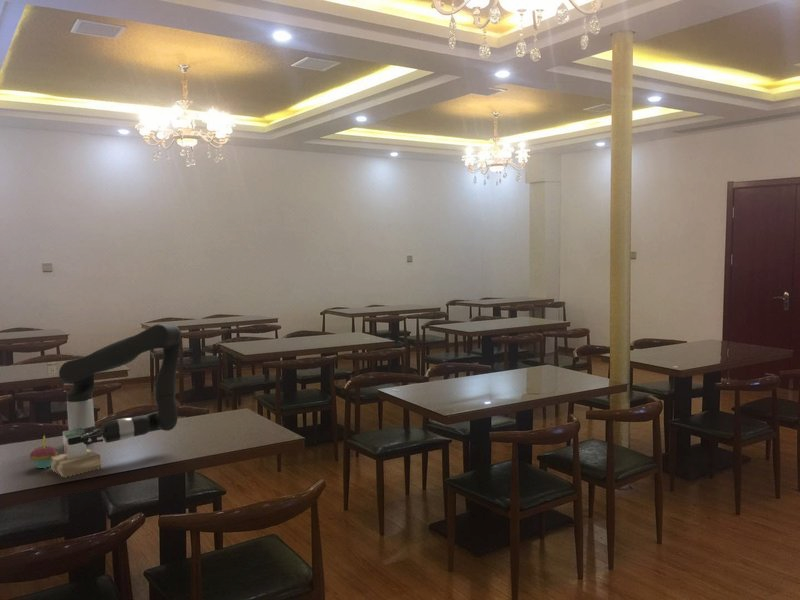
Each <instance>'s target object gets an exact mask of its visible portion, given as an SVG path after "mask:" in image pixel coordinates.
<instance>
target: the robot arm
mask: <svg viewBox="0 0 800 600" xmlns="http://www.w3.org/2000/svg"><path fill="white" fill-rule="evenodd" d="M181 344H182V332H181V329H180V328H179V326H177V325H175V324H174V323H173V324H172V323H157V324H155V325H152V326H150V327H148V328H146V329H144V330H143V331H141V332H140V333H137V334H136V335H132V336H129V337H126V338H123V339H121V340H118V341H116V342H113V343H110V344H108V345H106V346H103V347H101V348H100V349H97V350H96V351H93V352H92V353H90V354H88V355H86V356H83V357H80V358H75V359H71V360H68V361H65V362H64V363H63V364H62V365H61V366H60V368H59V371H58V376H59V378H60V379H61V381H62V382H64V383H66V384H69V385H70V384H71V385H72V387H71V388H70V389H69V391H68V392H67V393H66V398H65V399H66V407H67V408H66V410H67V412H66V413H67V424H68V425H67V426H68V430H73V429H78V428H82V429H83V430H84V431H85V435H82V436H81V437H80V436H79V437H74V438H69V439H68V444H69V445H73V444H78V443H82V444H86V445H91V444H95V443H103V442H105V443H107V444H109V443H114V442H119V441H123V440H126V439H127V440H128V439H131V438H134V437H139V436H144V435H147V434H148V433H150V432H151V433H152V432H156V431H165V432H167V431H172V430H173V429H174V428H175V427H176V426H177V423H178V409H177V403H176V376H177V367H178V361H179V355H180V348H181ZM156 349H157V350H158V349H162V350H163V352H162V353H163V354H162V355H163V356H162V362H161V365H160V368H159V371H158V373H157V377H156V379H155V389H154V390H155V391H154V392H155V393H154V394H155V397H154V398H155V403H156V404H157V411H154V412H151V413H148V414H147V413H146V414H145V415H144V414H142V415H136V416H132V417H122V418H116V419H112V420H107V421H103V422H102V427H98V426H97V427H96V425H95V412H94V398H93V393H94V390H95V374H98V373H101V372H105V371H109V370H113V369H116V368H117V369H118V368H120V367H122V366H124V365H128V364H129V363H132V362H133V361H134V360H135V359H137V358H138V356H140V355H141V354H143V353H146V352H149V351H152V350H156Z"/></svg>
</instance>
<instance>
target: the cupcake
mask: <svg viewBox="0 0 800 600" xmlns="http://www.w3.org/2000/svg"><path fill="white" fill-rule="evenodd" d="M42 440H43V441H42V446H38V447H36V448H34V449H33V450H32V451H31V452H30V453H29V458H30V460H31V461H34V463H35V465H36V468H37V469H38V468H44V469H48V468H47V467H49V468H51V467H50V466H51V457H52V456H56V455H59V454H58V450H57V448H56V447H54V446H49V445H48V446H47V445H46V435H45V434H43V436H42Z"/></svg>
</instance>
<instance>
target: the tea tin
mask: <svg viewBox="0 0 800 600" xmlns="http://www.w3.org/2000/svg"><path fill="white" fill-rule="evenodd" d="M82 435H85V431H84V430H83V429H82V428H78V429H73V430H69V429H68V430H63V431H62V440H63V450H64V451H63V452H64V454H65V456H66V458H67V459H68V460H69V459H73V458H78V457H83V456H87V449H88V447H87V444H82V443H78V444H73V445H69V444H68V439H69V438H74V437H79V436H80V437H81V436H82Z"/></svg>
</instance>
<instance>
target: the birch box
mask: <svg viewBox="0 0 800 600" xmlns="http://www.w3.org/2000/svg"><path fill="white" fill-rule="evenodd" d="M101 462H102V461H101V455H100V454H99V453H96V452H94V451H93V450H90V449H88V448H87V456H83V457H78V458H73V459H69V460H68V459H67V458H66V456H65V453H61V454H57V455H56V456H52V457H51V467H50V468H51V469H52V470H53V471H52V470H51V471H52V472H54V471H55V472H56V473H55V472H54V473H55V474H57V473H58V474H57V475H59V474H60V475H61V476H60V475H59V476H60V477H62V476H63V477H65V478H68V477H67V476H69V477H73V476H77V475H81V474H85V473H88V471H89V472H92V471H91V470H93V471H96V470H95V469H97V470H99V469H98V468H101V469H102V465H101ZM84 472H85V473H84ZM80 473H81V474H80ZM76 474H77V475H76ZM72 475H73V476H72ZM63 477H62V478H63Z"/></svg>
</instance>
